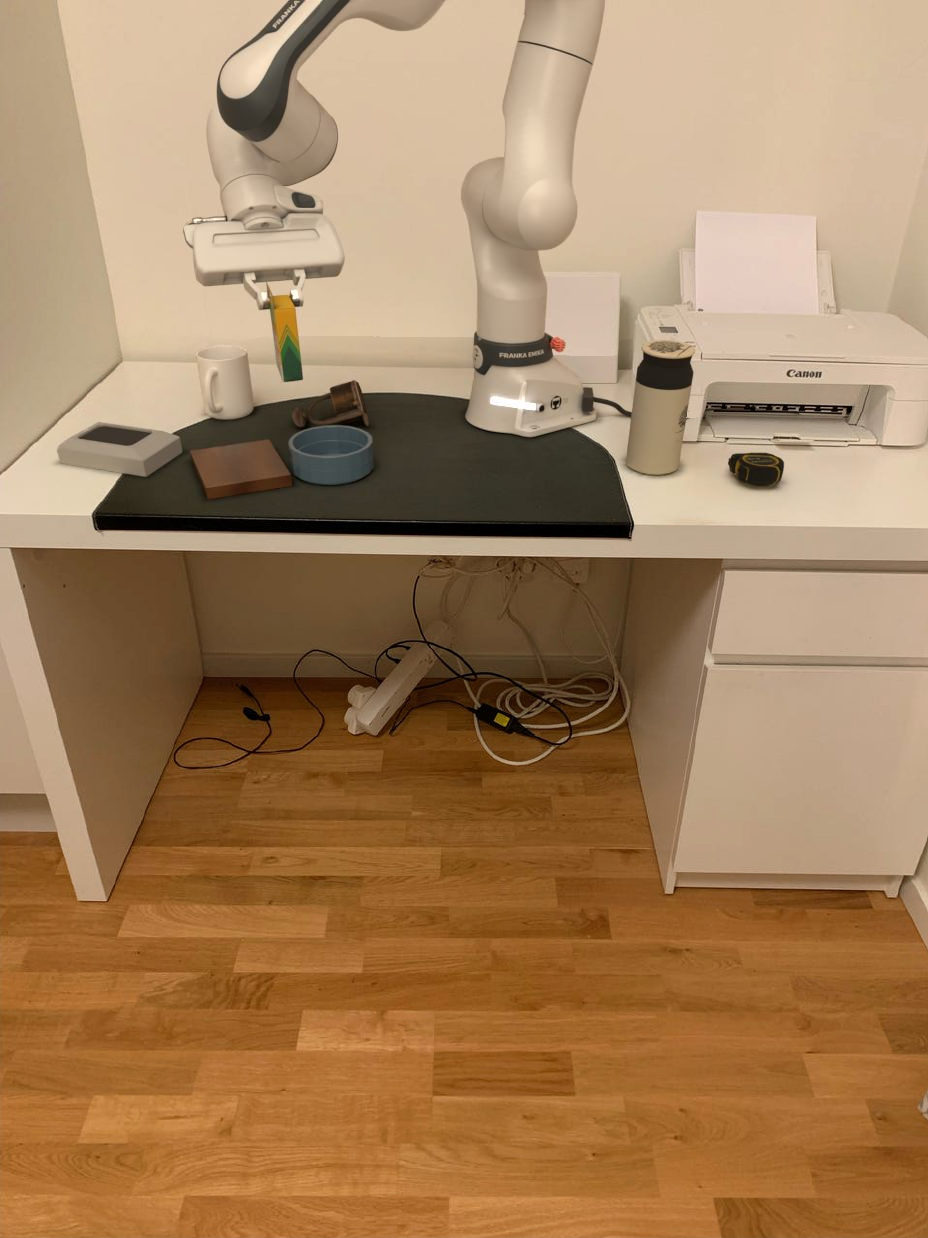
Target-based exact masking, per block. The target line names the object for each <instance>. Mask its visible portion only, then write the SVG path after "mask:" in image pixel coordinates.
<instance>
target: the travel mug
mask: <svg viewBox="0 0 928 1238" xmlns="http://www.w3.org/2000/svg"><path fill="white" fill-rule="evenodd" d="M641 351H642V360H640V361H641V362H639V364H638V366H637V368H636V374H635V384H634V391H633V399H632V407H631V412H632V415H631V417H630V424H629V431H628V440H627V448H626V457H625V463H626V465H627V467H629V468H630V469H632V470H634V471H636V472H637V473H641V474H643V475H649V476H650V475H652V476H662V475H667V474H671V473H674V472H675V471H677V470H678V469H679V467H680V460H681V455H682V447H683V442H684V436H685V429H686V423H687V418H688V417H687V412H689V411H688V410H689V406H690V405H689V404H690V398H691V392H692V391H691V390H692V386H693V380H694V379H693V378H694V372H695V371H694V369H693V366H692V363H691V361H692V358H693V356H694V354H695V353H696V348H695V347H694V346H692V345H691V344H689V343H686V342H683V341H679V340H671V339H659V340H658V339H656V340H655V339H654V340H650V341H646V342H644V343H642V345H641ZM686 417H687V418H686Z"/></svg>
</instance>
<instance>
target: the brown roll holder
mask: <svg viewBox="0 0 928 1238" xmlns="http://www.w3.org/2000/svg"><path fill="white" fill-rule="evenodd" d="M364 398H365V397H364V394H363V391H362V387H361V386H360V383H359V382H358V381H357V380H355V379H354V380H353V379H352V380H350V381H347V382H343V383H340V384H337V385H334V386H331V387H330V388H329V392H327V393H325V394H322V395H320V396H318V397H317V398H315V399H314V400H313V401H311V402H310V403H309V405H308V406H307V408H306V410H305V409H304V408H303V407H302V406H296V407H295V408H294V410H293V411H292V418H291V419H292V422H293V424H294V425H295V426H296V427H297V428H299V429H303V428H305V427H306V424H307V421H309V422H310V423H311V424H313V425H315V426H327V425H335V424H337V423H339V424H340V425H342V426H346V425H348V424H351V423H354V422H357V421H358V422H359V421H363V424H364V425H365V427H369V424H370V422H369V416H368V410H367V406H366V403H365V399H364ZM330 399H331V401H332V406H333V408H334V411H335V415H336V416H334V417H330V418H326V419H316V418H314V417H312V411H313V409H315V407H316V406H318V405H319V404H321V403H322V402H324V401H326V400H330Z"/></svg>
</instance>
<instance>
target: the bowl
mask: <svg viewBox="0 0 928 1238" xmlns="http://www.w3.org/2000/svg"><path fill="white" fill-rule="evenodd" d="M373 442H374V441H373V436H372V435H371V434H370V433H369V432H368V431H366V430H365V429H362V428H359V427H354V426H351V425H342V424H330V425H318V426H313V427H309V428H306V429H303V430H300V431H298V432H296V433H294V434H293V435H292V436H291V437H290V438H289V439H288V453H289V454H288V455H289V463H290V464H289V465H290V471H291V472H292V474H293V475H294V476H295V477H297V478H298V479H300V480H302V481H304V482H306V483H310V484H314V485H320V486H321V485H322V486H338V485H345V484H350V483H354V482H358V481H359V480H361V479H363V478H364V477H366V476H367V475H368V474H370V473H371V472H372V471H373V469H374V463H375V462H374V446H373V445H374V444H373Z"/></svg>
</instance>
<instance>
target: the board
mask: <svg viewBox="0 0 928 1238" xmlns="http://www.w3.org/2000/svg"><path fill="white" fill-rule="evenodd" d="M189 454H190V460H191V464H192V467H193V468H194V471H195V473H196V475H197V477H198V480H199V482H200V485H201V488H202V490H203V492H204V494H205V497H206V499H207V500H215V499H219V498H226V497H232V496H238V495H245V494H250V493H255V492H256V493H257V492H262V491H268V490H274V489H281V488H286V487H293V480H292V474H291V472H290V471H289V469H288V467H287V466H286V464H285V462H283V460H282V458H281V457H280V455H279V454H278V451H277V450H276V449H275V447H274V445H273V444H272V442H271V441H270V439H263V440H261V439H260V440H255V441H247V442H242V443H235V444H228V445H221V446H213V447H208V448H201V449H200V448H199V449H193V450H189Z"/></svg>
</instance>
